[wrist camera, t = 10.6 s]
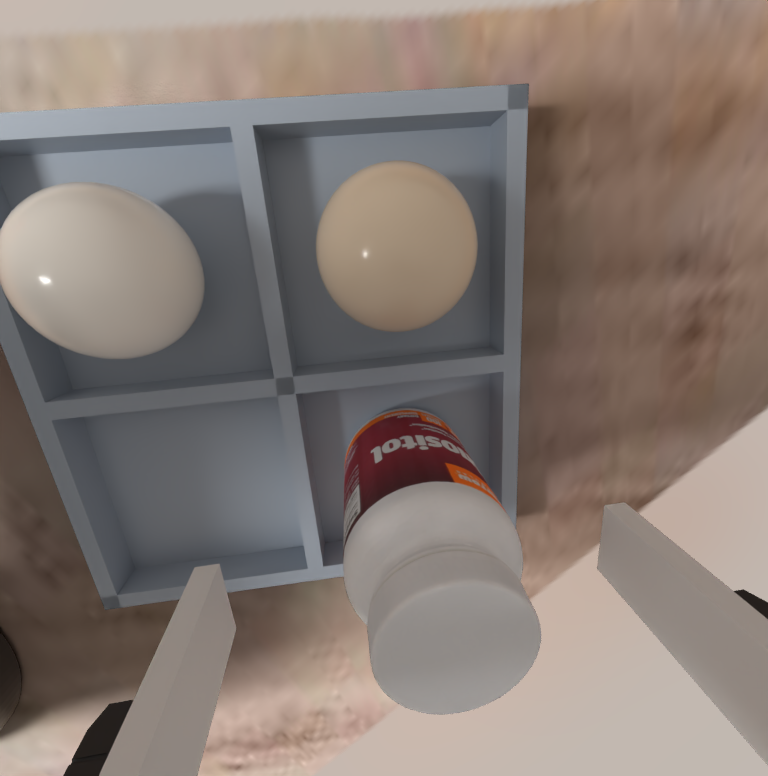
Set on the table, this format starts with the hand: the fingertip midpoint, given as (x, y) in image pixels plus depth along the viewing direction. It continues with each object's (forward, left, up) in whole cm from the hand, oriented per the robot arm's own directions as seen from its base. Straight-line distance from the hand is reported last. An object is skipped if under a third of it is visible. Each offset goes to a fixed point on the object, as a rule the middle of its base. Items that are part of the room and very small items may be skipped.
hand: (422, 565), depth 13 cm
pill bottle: (0, 0, -8) cm, 8 cm away
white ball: (-10, +10, -8) cm, 16 cm away
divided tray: (-5, +5, -9) cm, 11 cm away
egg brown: (0, +10, -8) cm, 13 cm away
